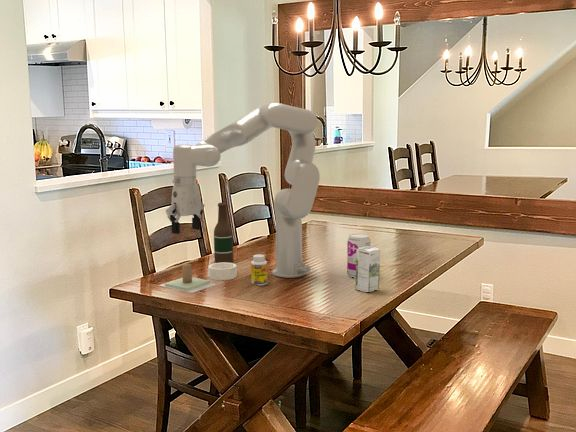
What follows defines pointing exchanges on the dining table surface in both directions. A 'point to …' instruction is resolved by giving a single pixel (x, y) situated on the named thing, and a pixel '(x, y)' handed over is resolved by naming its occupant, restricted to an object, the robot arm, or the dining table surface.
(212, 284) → the mat
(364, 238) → the supplement can
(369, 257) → the syrup box
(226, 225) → the beer bottle
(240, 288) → the dining table surface
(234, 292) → the dining table surface
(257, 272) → the supplement bottle
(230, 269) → the bowl
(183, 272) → the lid
